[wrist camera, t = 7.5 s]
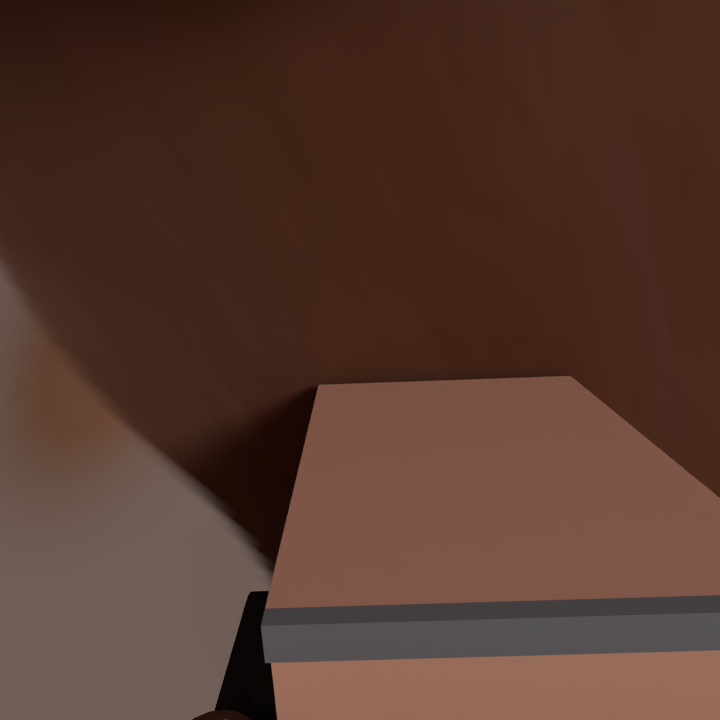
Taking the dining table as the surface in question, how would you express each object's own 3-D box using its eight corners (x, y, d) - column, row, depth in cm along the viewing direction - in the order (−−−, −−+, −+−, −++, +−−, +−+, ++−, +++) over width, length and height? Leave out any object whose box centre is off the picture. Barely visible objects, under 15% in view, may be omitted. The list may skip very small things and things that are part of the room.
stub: (318, 385, 10) (261, 626, 4) (571, 376, 10) (855, 609, 4) (336, 662, 12) (313, 1085, 6) (547, 656, 12) (721, 1079, 6)
